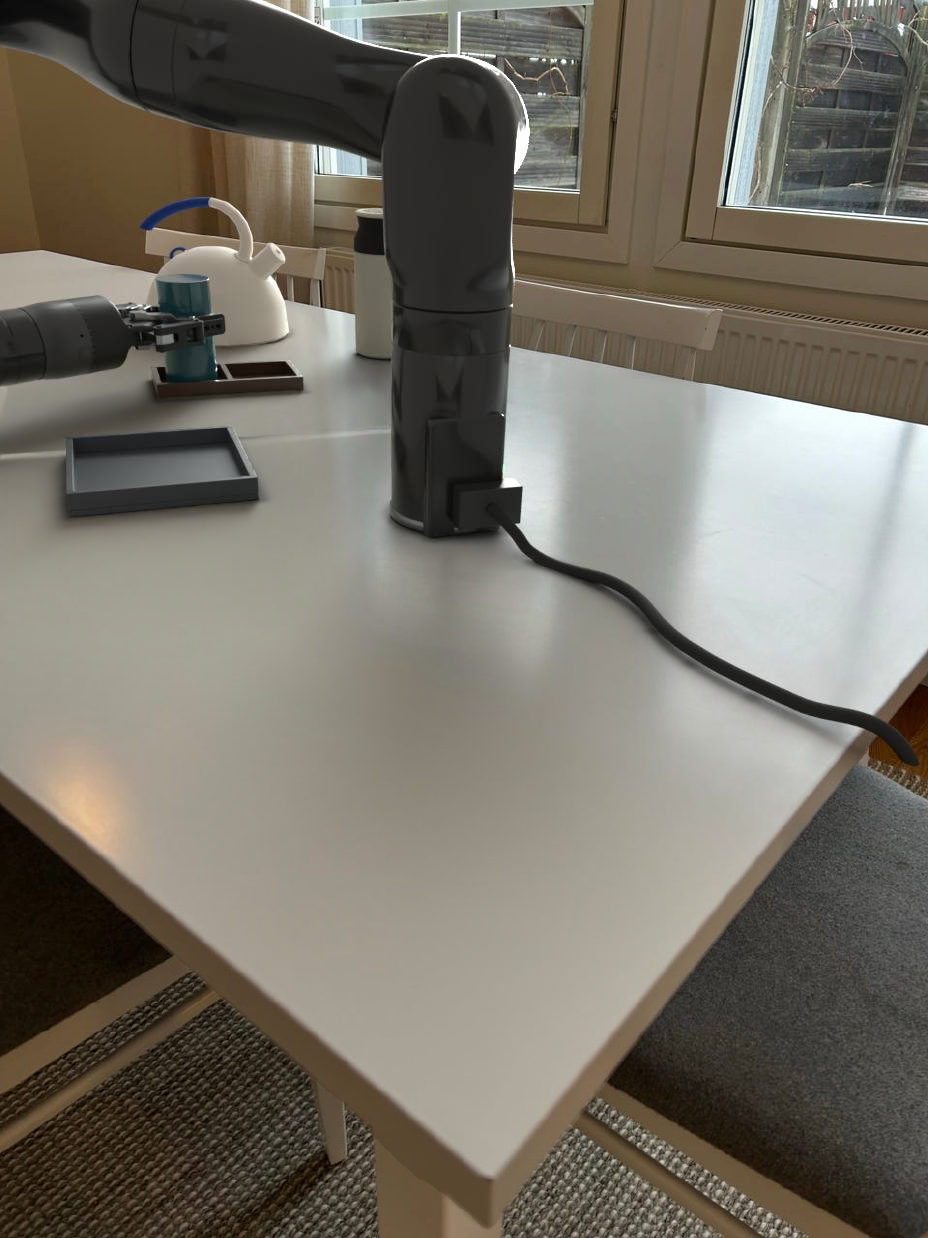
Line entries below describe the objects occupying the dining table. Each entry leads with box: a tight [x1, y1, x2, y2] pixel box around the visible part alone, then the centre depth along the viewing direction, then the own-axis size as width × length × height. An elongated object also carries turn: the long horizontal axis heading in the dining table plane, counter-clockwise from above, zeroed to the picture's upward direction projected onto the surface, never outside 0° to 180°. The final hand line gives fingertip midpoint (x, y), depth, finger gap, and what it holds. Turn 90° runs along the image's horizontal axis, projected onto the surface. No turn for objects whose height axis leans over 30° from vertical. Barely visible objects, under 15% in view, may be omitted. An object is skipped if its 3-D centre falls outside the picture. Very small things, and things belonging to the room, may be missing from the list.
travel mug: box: [353, 207, 392, 360], centre depth 126 cm, size 8×8×18 cm
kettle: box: [139, 196, 290, 347], centre depth 133 cm, size 20×21×18 cm
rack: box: [150, 359, 305, 399], centre depth 112 cm, size 8×16×2 cm, turn 110°
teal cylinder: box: [154, 274, 218, 383], centre depth 108 cm, size 6×6×12 cm
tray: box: [65, 424, 260, 518], centre depth 85 cm, size 15×15×2 cm
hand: (201, 317), depth 109 cm, fingers open, 7 cm apart
